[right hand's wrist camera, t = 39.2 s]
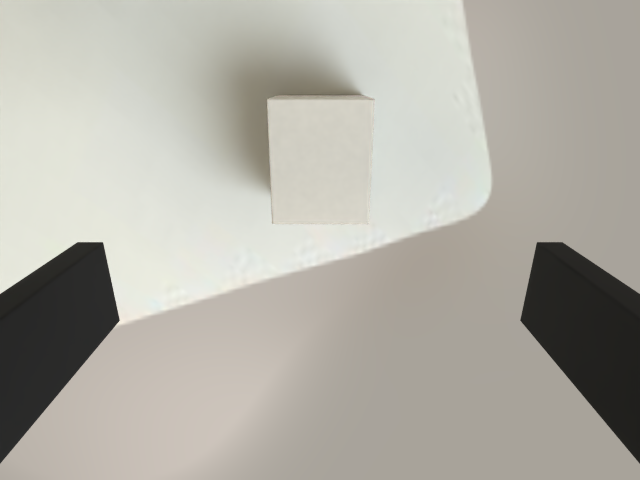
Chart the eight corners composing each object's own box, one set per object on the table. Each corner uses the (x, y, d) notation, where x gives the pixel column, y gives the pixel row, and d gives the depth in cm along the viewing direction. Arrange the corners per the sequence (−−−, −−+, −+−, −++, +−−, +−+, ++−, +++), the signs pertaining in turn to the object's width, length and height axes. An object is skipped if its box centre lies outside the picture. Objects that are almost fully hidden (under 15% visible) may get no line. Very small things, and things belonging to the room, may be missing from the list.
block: (364, 95, 35) (374, 98, 28) (360, 198, 38) (368, 224, 31) (276, 95, 35) (266, 98, 28) (280, 198, 38) (272, 224, 31)
